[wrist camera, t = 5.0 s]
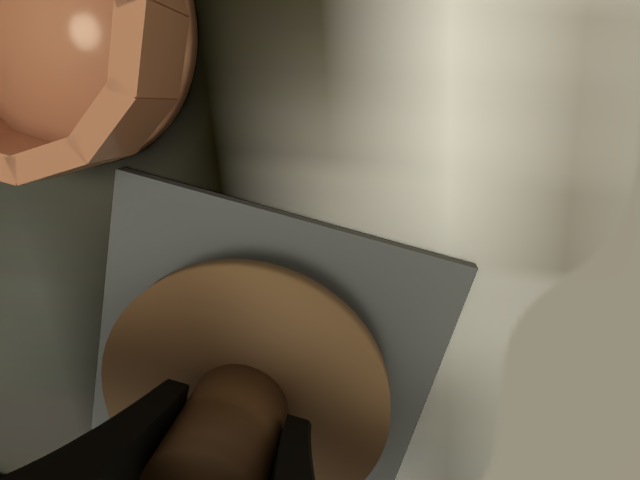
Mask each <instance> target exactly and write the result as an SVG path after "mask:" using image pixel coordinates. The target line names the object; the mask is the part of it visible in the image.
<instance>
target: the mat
mask: <svg viewBox="0 0 640 480" xmlns="http://www.w3.org/2000/svg"><path fill="white" fill-rule="evenodd" d="M226 258H229V259H250V260H257V261H264V262H268V263H272V264H276V265H279V266H283V267H286V268H289V269H291V270H294V271H296V272H299V273H301V274H304V275H306V276H307V277H309V278H311V279H313V280H315V281H316V282H318V283H320V284H322V285H323V286H325V287H326V288H327V289H329V290H330V291H332V292H333V293H334V294H336V295H337V296H338V297H340V298H341V299H342V300H343V301H344V302H345V303H346V304H347V305H348V306H349V307H350V308H351V309H352V310H354V312H355V313H356V314H357V315H358V317H359V318H360V319H361V320H362V321H363V323H364V324H365V325H366V326H367V328H368V330H369V331H370V333H371V334H372V336H373V338H374V339H375V341H376V343H377V345H378V347H379V350H380V352H381V354H382V356H383V359H384V362H385V366H386V369H387V373H388V379H389V387H390V402H391V413H390V427H389V433H388V438H387V442H386V444H385V447H384V450H383V452H382V455H381V457H380V459H379V460H378V462H377V464H376V466H375V467H374V469H373V470H372V472H371V473H370V474H369V475H368V477H367V478H366V479H365V480H395V477H396V475H397V472H398V470H399V467H400V465H401V462H402V460H403V457H404V455H405V452H406V450H407V447H408V445H409V442H410V440H411V437H412V434H413V432H414V429H415V427H416V424H417V422H418V419H419V417H420V414H421V412H422V409H423V407H424V404H425V402H426V399H427V397H428V394H429V392H430V389H431V387H432V384H433V381H434V379H435V376H436V374H437V371H438V369H439V366H440V364H441V361H442V359H443V356H444V354H445V351H446V349H447V346H448V344H449V341H450V339H451V336H452V334H453V331H454V328H455V326H456V323H457V321H458V318H459V316H460V313H461V311H462V308H463V306H464V303H465V301H466V298H467V296H468V293H469V291H470V288H471V286H472V283H473V281H474V278H475V275H476V273H477V270H478V268H477V266H476V265H475V264H473V263H470V262H466V261H462V260H459V259H455V258H451V257H448V256H444V255H441V254H437V253H433V252H430V251H426V250H422V249H419V248H415V247H412V246H408V245H404V244H401V243H397V242H393V241H390V240H386V239H382V238H379V237H375V236H372V235H368V234H364V233H361V232H357V231H353V230H350V229H346V228H342V227H339V226H335V225H332V224H328V223H324V222H321V221H317V220H313V219H310V218H306V217H303V216H299V215H295V214H292V213H288V212H284V211H281V210H277V209H273V208H270V207H266V206H263V205H259V204H255V203H252V202H248V201H244V200H241V199H237V198H234V197H230V196H226V195H223V194H219V193H215V192H212V191H208V190H204V189H201V188H197V187H194V186H190V185H186V184H183V183H179V182H175V181H172V180H168V179H165V178H161V177H157V176H154V175H150V174H146V173H143V172H139V171H135V170H132V169H128V168H125V167H122V168H118V169H116V172H115V182H114V193H113V203H112V214H111V225H110V235H109V246H108V257H107V267H106V278H105V288H104V299H103V310H102V320H101V331H100V342H99V352H98V363H97V373H96V384H95V395H94V405H93V416H92V427H91V430H92V429H94V428H95V427H97V426H99V425H100V424H102V423H104V422H105V421H107V420H108V419H110V416H109V414H108V411H107V408H106V405H105V400H104V396H103V391H102V379H101V368H102V357H103V353H104V349H105V345H106V341H107V339H108V337H109V334H110V332H111V330H112V327H113V326H114V324H115V323H116V321H117V319H118V318H119V316H120V315H121V313H122V312H123V311H124V310H125V309H126V308H127V307H128V305H129V304H130V303H131V302H132V301H133V300H134V299H136V298H137V297H138V296H139V295H140V294H142V293H143V292H144V291H145V290H147V289H148V288H149V287H150V286H151V285H153V284H154V283H155V282H156V281H158V280H159V279H161V278H163V277H164V276H166V275H168V274H169V273H171V272H173V271H175V270H178V269H180V268H183V267H185V266H188V265H191V264H195V263H199V262H203V261H207V260H216V259H226Z"/></svg>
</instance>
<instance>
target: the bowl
mask: <svg viewBox="0 0 640 480" xmlns="http://www.w3.org/2000/svg"><path fill="white" fill-rule="evenodd" d="M197 47H198V33H197V18H196V12H195V5H194V0H0V181H1V182H5V183H8V184H12V185H15V186H16V185H17V186H18V185H23V184H27V183H31V182H36V181H40V180H44V179H49V178H53V177H57V176H61V175H66V174H70V173H74V172H78V171H81V170H85V169H88V168H91V167H94V166H98V165H101V164H104V163H108V162H112V161H117V160H121V159H123V158H126V157H129V156H131V155H134V154H136V153H137V152H139V151H141V150H143V149H144V148H146V147H148V146H149V145H150V144H151V143H153V142H154V141H155V140H156V139H158V138H159V137H160V136H161V135H162V134H163V133H164V132H165V130H166V129H167V128H168V127H169V126H170V125H171V123H172V122H173V120H174V119H175V118H176V116H177V115H178V113H179V112H180V110H181V108H182V106H183V104H184V102H185V99H186V97H187V95H188V92H189V89H190V86H191V83H192V80H193V75H194V71H195V66H196V59H197Z"/></svg>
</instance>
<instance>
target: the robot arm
mask: <svg viewBox="0 0 640 480" xmlns="http://www.w3.org/2000/svg"><path fill="white" fill-rule="evenodd" d="M188 391H189V385H188V384H185V383H182V382H178V381H175V380H171V379H167V380H165V381H164V382H162V383H161V384H159V385H158V386H157V387H155V388H154V389H152V390H151V391H150V392H148V393H147V394H145V395H144V396H143V397H141V398H140V399H138V400H137V401H135V402H134V403H133V404H131V405H130V406H128V407H127V408H125V409H124V410H122V411H121V412H119V413H117V414H116V415H114V416H113V417H111V418H110V419H108V420H107V421H105V422H104V423H102V424H100V425H99V426H97V427H95V428H94V429H92V430H90V431H89V432H87V433H85V434H84V435H82V436H80V437H79V438H77V439H75V440H73V441H72V442H70V443H68V444H66V445H65V446H63V447H61V448H59V449H57V450H55V451H53V452H52V453H50V454H48V455H46V456H44V457H42V458H40V459H38V460H36V461H34V462H32V463H30V464H28V465H26V466H24V467H21V468H19V469H17V470H15V471H13V472H10V473H8V474H6V475H4V476H1V477H0V480H139V478H140V475H141V473H142V471H143V469H144V468H145V466H146V464H147V463H148V461H149V460H150V458H151V456H152V455H153V453H154V452H155V450H156V449H157V447H158V445H159V444H160V442H161V441H162V439H163V438H164V436H165V434H166V433H167V431H168V430H169V428H170V427H171V425H172V423H173V422H174V420H175V419H176V417H177V416H178V414H179V412H180V411H181V409H182V408H183V406H184V405H185V403H186V401H187V396H188ZM311 426H312V425H311V423H310V421H309V420H307V419H303V418H300V417H297V416H293V415H290V414H287V417H286V420H285V424H284V427H283V430H282V434H281V437H280V441H279V445H278V448H277V452H276V456H275V459H274V464H273V469H272V474H271V477H270V480H315V474H314V467H313V459H312V447H311Z"/></svg>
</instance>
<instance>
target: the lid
mask: <svg viewBox="0 0 640 480" xmlns="http://www.w3.org/2000/svg"><path fill="white" fill-rule="evenodd" d="M101 379H102V391H103V396H104V400H105V405H106V408H107V411H108V414H109V416H110V418H111V417H113V416H114V415H116V414H117V413H119V412H121V411H122V410H124V409H125V408H127V407H128V406H130V405H131V404H133V403H134V402H135V401H137V400H138V399H140V398H141V397H143V396H144V395H145V394H147V393H148V392H150V391H151V390H152V389H154V388H155V387H157V386H158V385H159V384H161V383H162V382H164V381H165V380H167V379H171V380H175V381H178V382H182V383H185V384H188V385H189V391H188V396H187V401H186V403H185V405H184V406H183V408H182V409H181V411H180V412H179V414H178V416H177V417H176V419H175V420H174V422H173V423H172V425H171V427H170V428H169V430H168V431H167V433H166V434H165V436H164V438H163V439H162V441H161V442H160V444H159V445H158V447H157V449H156V450H155V452H154V453H153V455H152V456H151V458H150V460H149V461H148V463H147V464H146V466H145V468H144V469H143V471H142V473H141V475H140V478H139V480H270V477H271V474H272V469H273V464H274V459H275V456H276V452H277V448H278V445H279V441H280V437H281V434H282V430H283V427H284V424H285V420H286V417H287V414H290V415H293V416H297V417H300V418H303V419H307V420H309V421H310V423H311V425H312V426H311V447H312V459H313V467H314V474H315V480H365V479H366V478H367V477H368V475H369V474H370V473H371V472H372V470H373V469H374V467H375V466H376V464H377V462H378V460H379V459H380V457H381V455H382V452H383V450H384V447H385V444H386V442H387V438H388V433H389V427H390V413H391V402H390V387H389V379H388V373H387V369H386V366H385V362H384V359H383V356H382V354H381V352H380V350H379V347H378V345H377V343H376V341H375V339H374V338H373V336H372V334H371V333H370V331H369V330H368V328H367V326H366V325H365V324H364V323H363V321H362V320H361V319H360V318H359V317H358V315H357V314H356V313H355V312H354V310H352V309H351V308H350V307H349V306H348V305H347V304H346V303H345V302H344V301H343V300H342V299H341V298H340V297H338V296H337V295H336V294H334V293H333V292H332V291H330V290H329V289H327V288H326V287H325V286H323V285H322V284H320V283H318V282H316V281H315V280H313V279H311V278H309V277H307V276H306V275H304V274H301V273H299V272H296V271H294V270H291V269H289V268H286V267H283V266H279V265H276V264H272V263H268V262H264V261H257V260H250V259H229V258H226V259H216V260H207V261H203V262H199V263H195V264H191V265H188V266H185V267H183V268H180V269H178V270H175V271H173V272H171V273H169V274H168V275H166V276H164V277H163V278H161V279H159V280H158V281H156V282H155V283H154V284H153V285H151V286H150V287H149V288H148V289H147V290H145V291H144V292H143V293H142V294H140V295H139V296H138V297H137V298H136V299H134V300H133V301H132V302H131V303H130V304H129V305H128V307H127V308H126V309H125V310H124V311H123V312H122V313H121V315H120V316H119V318H118V319H117V321H116V323H115V324H114V326H113V327H112V330H111V332H110V334H109V337H108V339H107V341H106V345H105V349H104V353H103V357H102V368H101Z"/></svg>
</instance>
